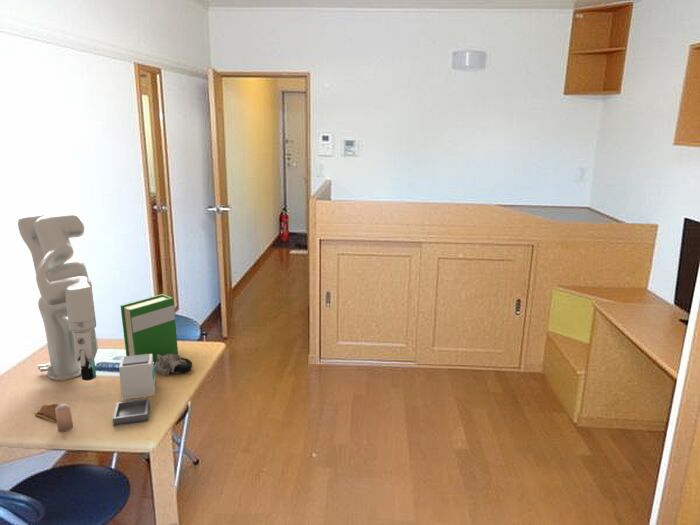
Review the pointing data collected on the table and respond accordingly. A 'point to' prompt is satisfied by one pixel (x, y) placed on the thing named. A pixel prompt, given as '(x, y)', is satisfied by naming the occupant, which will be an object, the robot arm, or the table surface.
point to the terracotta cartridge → (63, 417)
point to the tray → (131, 412)
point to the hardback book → (150, 326)
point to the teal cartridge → (92, 368)
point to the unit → (137, 376)
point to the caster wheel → (172, 364)
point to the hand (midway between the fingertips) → (89, 374)
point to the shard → (48, 412)
